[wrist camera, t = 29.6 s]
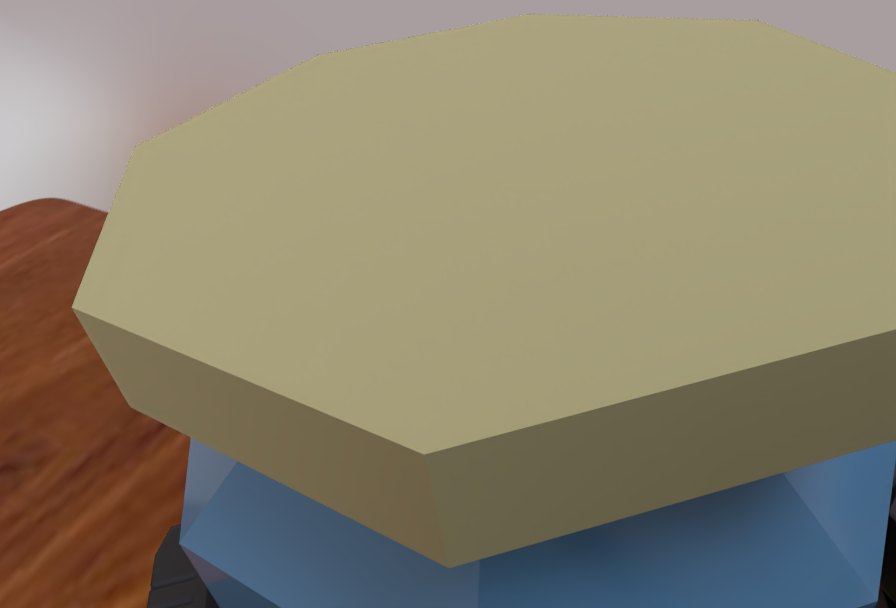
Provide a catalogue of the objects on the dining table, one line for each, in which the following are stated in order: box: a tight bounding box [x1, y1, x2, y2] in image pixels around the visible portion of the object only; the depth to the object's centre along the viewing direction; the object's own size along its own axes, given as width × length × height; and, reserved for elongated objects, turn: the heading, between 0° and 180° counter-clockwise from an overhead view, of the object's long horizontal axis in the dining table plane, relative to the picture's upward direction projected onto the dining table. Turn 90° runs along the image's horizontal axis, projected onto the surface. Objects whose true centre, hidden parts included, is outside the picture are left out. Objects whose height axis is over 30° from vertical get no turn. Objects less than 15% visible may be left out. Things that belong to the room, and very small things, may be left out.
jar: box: [72, 14, 896, 608], centre depth 11 cm, size 9×9×15 cm
